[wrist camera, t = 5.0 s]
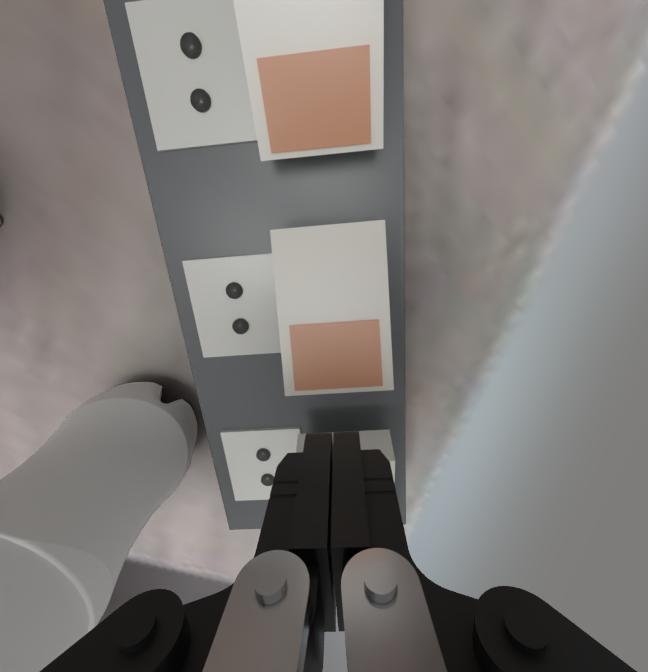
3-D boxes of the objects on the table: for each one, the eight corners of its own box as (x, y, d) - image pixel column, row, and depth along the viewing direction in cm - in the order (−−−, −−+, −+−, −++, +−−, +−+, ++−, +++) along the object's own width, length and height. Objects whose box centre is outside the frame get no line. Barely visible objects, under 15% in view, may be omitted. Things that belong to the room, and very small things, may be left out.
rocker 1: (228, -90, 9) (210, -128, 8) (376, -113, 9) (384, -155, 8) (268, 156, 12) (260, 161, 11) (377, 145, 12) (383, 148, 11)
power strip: (160, 7, 15) (69, -99, 10) (381, -23, 15) (405, -152, 10) (250, 468, 24) (226, 539, 19) (392, 462, 24) (407, 533, 18)
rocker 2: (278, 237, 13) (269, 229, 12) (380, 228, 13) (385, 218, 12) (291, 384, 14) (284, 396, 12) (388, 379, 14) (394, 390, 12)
